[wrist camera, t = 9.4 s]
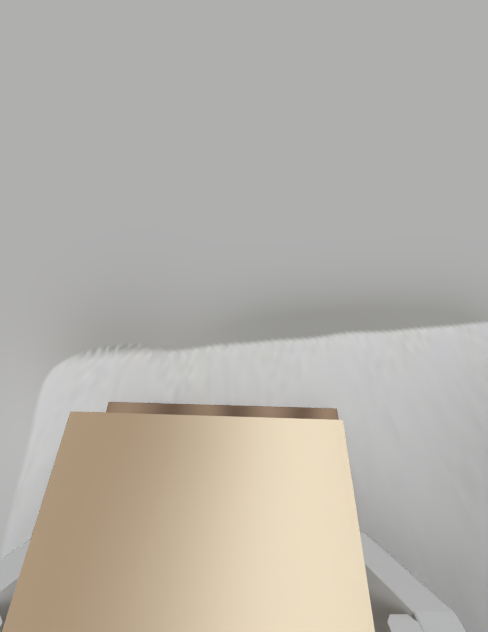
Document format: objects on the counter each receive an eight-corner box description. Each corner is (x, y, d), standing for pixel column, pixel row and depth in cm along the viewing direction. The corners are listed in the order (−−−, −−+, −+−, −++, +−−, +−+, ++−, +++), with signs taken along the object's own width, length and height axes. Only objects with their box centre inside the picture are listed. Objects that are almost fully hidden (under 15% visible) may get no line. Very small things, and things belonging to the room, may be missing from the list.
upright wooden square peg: (256, 472, 17) (342, 420, 5) (256, 552, 15) (397, 783, 3) (178, 470, 17) (70, 411, 5) (169, 551, 15) (-50, 795, 3)
